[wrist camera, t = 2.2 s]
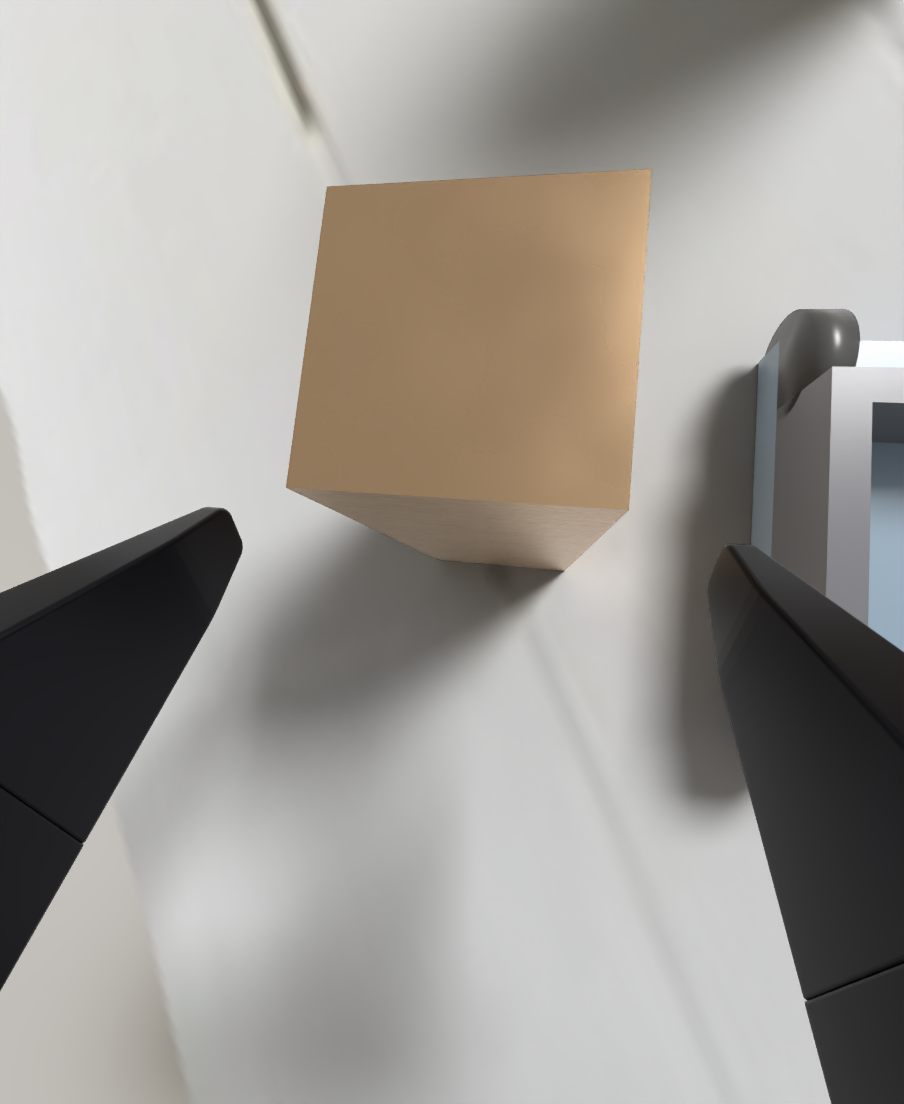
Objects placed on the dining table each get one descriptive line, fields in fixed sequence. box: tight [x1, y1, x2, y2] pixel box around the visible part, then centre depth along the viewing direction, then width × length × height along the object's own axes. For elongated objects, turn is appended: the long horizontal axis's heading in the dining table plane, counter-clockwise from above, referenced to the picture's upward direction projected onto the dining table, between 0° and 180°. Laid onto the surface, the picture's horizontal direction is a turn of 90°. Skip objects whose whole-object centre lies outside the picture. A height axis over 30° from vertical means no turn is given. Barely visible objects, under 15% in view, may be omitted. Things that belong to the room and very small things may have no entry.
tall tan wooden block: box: [286, 169, 652, 571], centre depth 13 cm, size 5×5×12 cm
